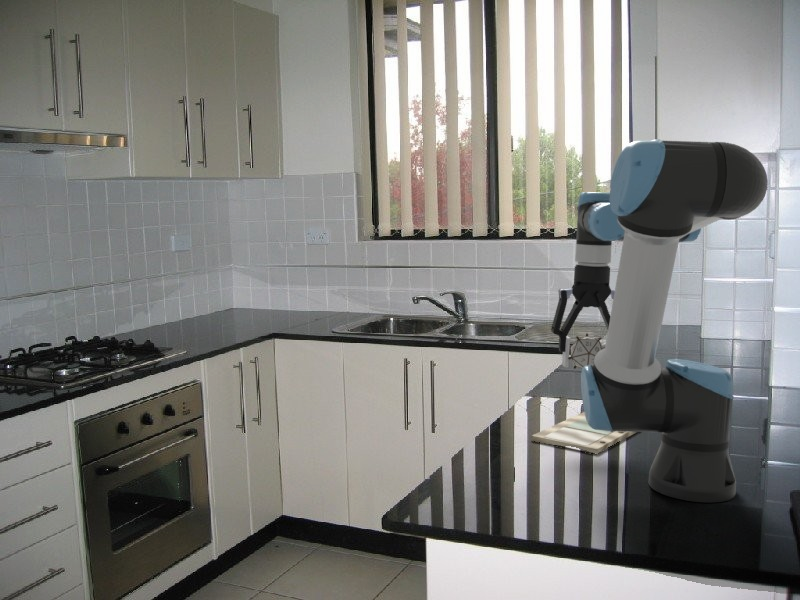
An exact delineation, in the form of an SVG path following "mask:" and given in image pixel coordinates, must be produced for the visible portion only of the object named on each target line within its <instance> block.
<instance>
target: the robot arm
mask: <svg viewBox="0 0 800 600" xmlns="http://www.w3.org/2000/svg"><path fill="white" fill-rule="evenodd" d="M621 150H622V151H621V152H620V153H619V155H618V158H617V159H616V162H615V165H614V168H613V171H612V174H611V175H612V176H611V178H610V186H609V187H610V192H598V191H597V192H591V191H583V192H581V193H580V194H579V196H578V203H577V207H576V210H577V217H576V219H577V220H576V221H577V222H576V223H577V224H576V240H575V243H576V244H575V245H576V246H575V257H574V261H575V262H576V263H577V264H575V266H574V273H573V274H574V275H573V283H572V284H573V285H572V286H571V288H566V289H563V288H559V289H558V302H557V306H556V310H555V313H554V317H553V321H552V324H551V328H550V332H551V333H552V334H554V335H556V336H558V350H559V352H562V359H561V360H562V362H561V363H562V364H561V366H562V367H564V368H566V369H567V368H569V365H570V364H569V363H570V359H568V358H569V357H570V346H571V345H570V344H571V337H569V336H568V335H569V332H570V331H571V329H572V327H573V325H574V323H575V321H576V320H577V318H578V316H579V315H580V312H581V311H582V310H583V309H584V308H590V307H593V308H598V311H599V312H600V315H601V317H602V320H603V322H604V324H605V326H606V327H605V328H606V329H607V334H606V337H605V340H606V346H605V348H604V349H602V350H600V351H599V352H598V353H597V354H596V356H595V359H594V365H593V366H591V365H588V366H584V367H583V369H582V368H581V372H580V389H581V399H582V407H583V412H584V413H585V417H586V420H587V423H588V424H589V426H590V427H591V428H593V429H595V430H605V431H610V432H613V431H629V432H636V433H661V436H660V438H661V439H660V440H661V441H660V445H659V448H658V450H657V453H656V454H655V457H654V459H653V462H652V464H651V467H650V468H649V472H648V486H649V487H650V488H651V489H652V490H654V491H655V492H657V493H660V494H661V495H664V496H667V497H670V498H674V499H678V500H682V501H686V502H688V501H689V502H695V503H720V502H721V503H722V502H727V501H730V500H733V498H735V496H736V492H737V479H736V477H735V473H734V469H733V464H732V462H731V457H730V455H729V454H730V453H729V447H730V445H729V444H730V437H731V435H730V434H731V420H732V409H733V400H734V398H735V397H734V395H733V394H734V389H733V388H734V379H733V377H732V375H731V373H729V372H728V371H727V370H725V369H723V368H721V367H717V366H715V365H711V364H707V363H703V362H699V361H693V360H688V359H679V358H671V359H668V360H666V362H665V364H664V366H665V367H662V366H661V363H660V361H659V360H658V359H657V358H656V354H657V350H658V344H659V340H660V333H661V330H662V324H663V319H664V314H665V311H666V305H667V300H668V295H669V291H670V285H671V280H672V276H673V270H674V267H675V261H676V257H677V251H678V247H679V243H684V242H685V243H686V242H687V243H688V242H690V243H691V242H695V241H696V240H697V239H698V237H699V235H700V234H701V232H702V228H704V227H707V226H709V225H711V224H713V223H715V222H718V221H720V220H725V221H726V220H730V221H731V220H736V219H739V218H741V217H745V216H747V215H749V214H750V213H752V212H753V211H755V210H756V209H757V208H758V207H759V206H760V205H761V203H762V202H763V200H764V199H765V196H766V193H767V192H768V191H767V190H768V183H769V182H768V173H767V171H766V169H765V167H764V165H763V163H762V162H761V160H760V159H759V158H758V157H757V156H756V155H755V154H754V153H752V152H751V151H750V150H748V149H746V148H744V147H743V146H741V145H738V144H735V143H729V142H726V141H724V142H723V141H712V142H711V141H683V140H682V141H681V140H661V139H658V138H657V139H656V138H655V139H652V140H634V141H632V142H630V143H628V144H627V145H625V147H624V148H623V149H621ZM615 241H622V247H621V252H620V257H619V262H618V263H619V265H618V270H617V276H616V282H615V287H614V289H611V286H610V279H611V267H610V265H609V264H611V262H612V245H613V242H615ZM571 295H572V296H573V297H574V299H575V301H574V303H573V305H572V308H571V309H570V312H569V313H568V315H567V317H566V319H565V320H564V322H563V319H564V314H565V311H566V308H567V303H568V300H569V299H570V297H571ZM609 296H611V297H610V298H611V300H612V306H611V311H610V312H609V309H608V306H607V304H606V300H607V299H608V298H609ZM562 322H563V324H562ZM561 325H562V326H561Z"/></svg>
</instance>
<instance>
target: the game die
mask: <svg viewBox="0 0 800 600" xmlns="http://www.w3.org/2000/svg"><path fill="white" fill-rule="evenodd" d="M599 340H602V336H600V337H598V339H597V338H595V337H591V336H589V333H588V332H587V333H586V334H585V336H583V337H579V336H577V335H576V340H575V342H574V343H573V344H572V345H570V349H569V351H570V356H569V358H568V359H569V360H572V362H573V364H574V365H573V369H574V370H575V369H576V368H580V369H581V370H582V369H583V367H584V366H588V365H591V366H593V365H594V359H595V356H596V354H597V353H598V352H599V351H600V350H602V349H604V348H605V347H602V345H601V343H600V341H599Z"/></svg>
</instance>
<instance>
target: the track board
mask: <svg viewBox="0 0 800 600" xmlns="http://www.w3.org/2000/svg"><path fill="white" fill-rule="evenodd" d="M634 434H637V432H629V431H613V432H610V431H605V430H595V429H593V428H591V427H590V426H589V424H588V423H587V420H586V417H585V413H584V411H582V412H580V413H579V414H576V415H574V416H572V417H569V418H567V419H566V420H563V421H561V422H558V423H556V424H555V425H552V426H550V427H547V428H545V429H543V430H541V431H539V432H537V433H535V434H532V435H531V442H534V441H535V442H536V443H539V442H540V443H541V444H544V443H546V444H545V445H548V444H553V445H561V446H571V447H576V448H579V449H583V450H587V451H589V452H593V453H596V454H597V455H599V454H600V453H599V452H601V453H603V452H604V451H606V450H607V448H608V447H610V446H612V445H613V446H615V445H617V444H618V443H617V442H619V441H620V442H622V441H624V440H626V439H628V438H629V437H631V436H632V435H634ZM620 442H619V443H620ZM540 443H539V444H540ZM616 443H617V444H616ZM614 444H615V445H614ZM553 445H552V446H553ZM613 446H612V447H613ZM610 448H611V447H610ZM605 449H606V450H605ZM608 449H609V448H608ZM603 450H604V451H603ZM602 451H603V452H602ZM598 453H599V454H598Z"/></svg>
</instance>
